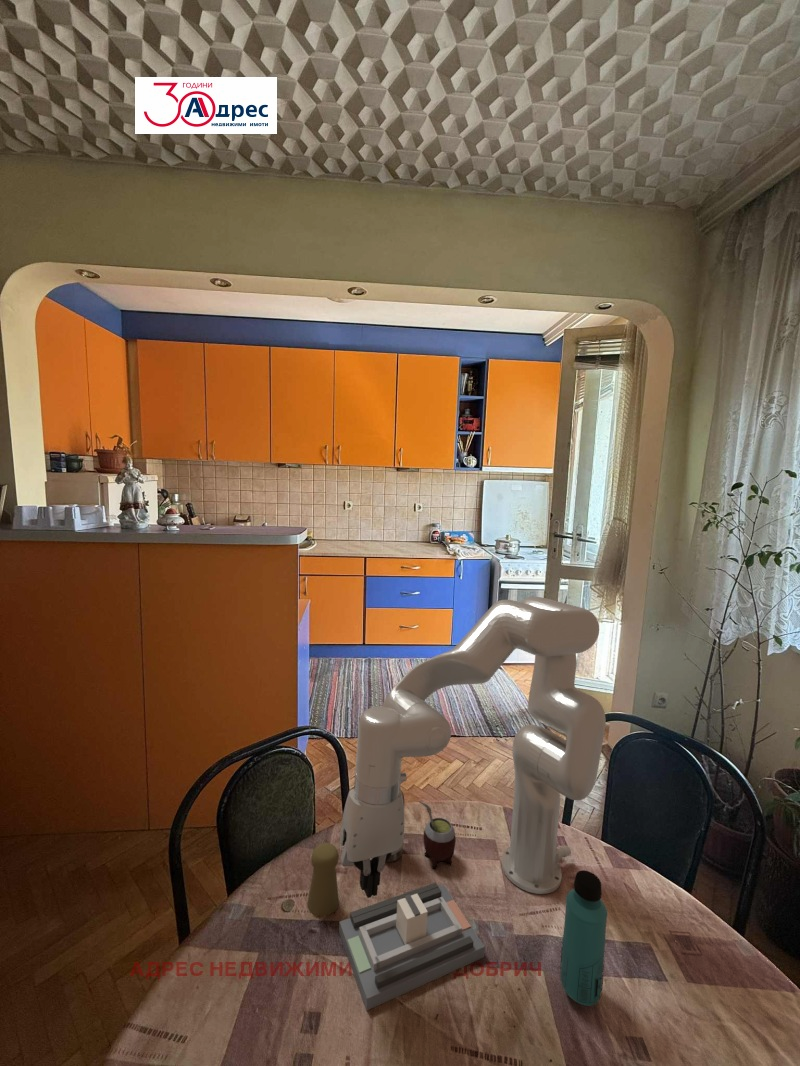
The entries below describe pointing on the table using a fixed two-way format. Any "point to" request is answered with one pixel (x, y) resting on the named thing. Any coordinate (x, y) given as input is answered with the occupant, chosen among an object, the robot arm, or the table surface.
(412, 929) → the toggle
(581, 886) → the beverage bottle
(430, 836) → the mate gourd
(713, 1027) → the table surface
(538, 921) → the table surface
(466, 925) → the panel
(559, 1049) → the table surface
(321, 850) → the olive brown pawn
